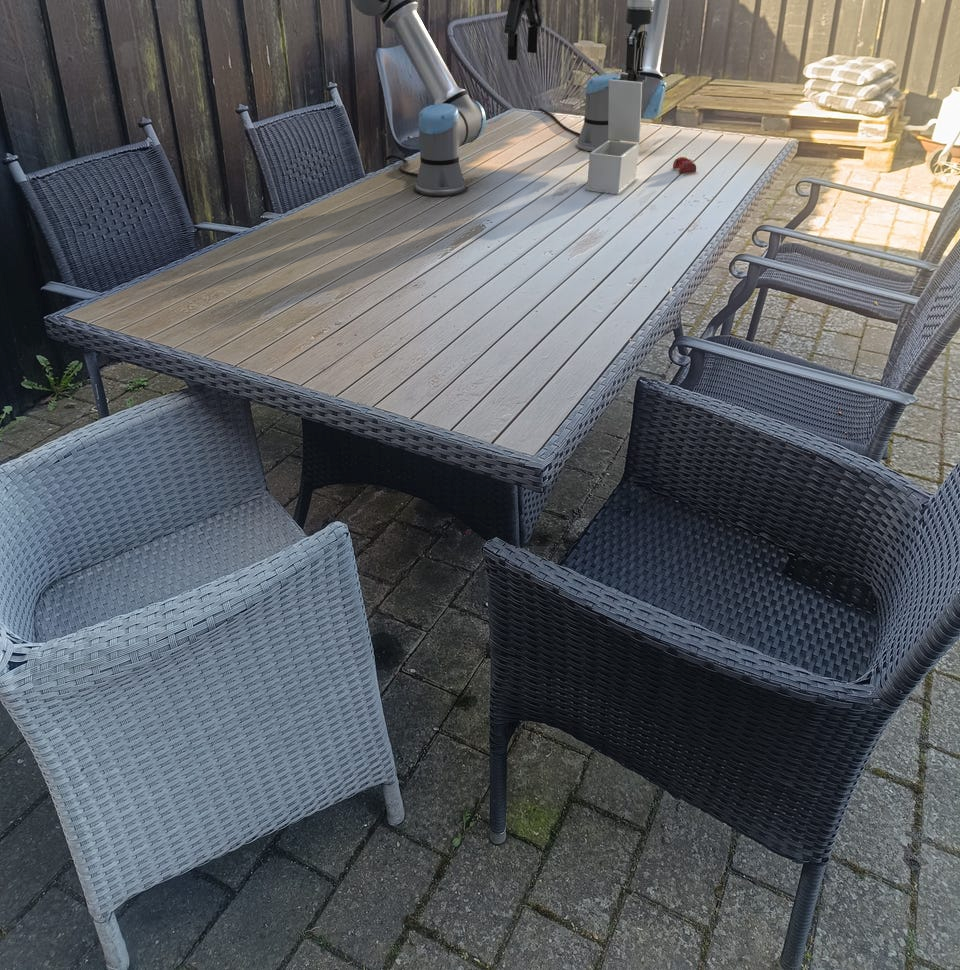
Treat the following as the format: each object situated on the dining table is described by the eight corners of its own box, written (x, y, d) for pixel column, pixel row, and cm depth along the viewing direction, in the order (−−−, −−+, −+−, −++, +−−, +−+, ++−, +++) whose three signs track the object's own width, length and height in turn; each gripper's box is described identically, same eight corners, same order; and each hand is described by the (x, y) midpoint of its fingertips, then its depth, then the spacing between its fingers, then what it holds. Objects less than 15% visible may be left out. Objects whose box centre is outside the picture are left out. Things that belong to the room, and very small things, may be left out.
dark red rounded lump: (688, 153, 276) (699, 160, 270) (686, 166, 279) (697, 173, 272) (672, 155, 275) (682, 161, 269) (670, 168, 278) (681, 175, 271)
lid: (641, 83, 247) (650, 70, 252) (608, 80, 250) (618, 68, 255) (639, 142, 260) (647, 129, 265) (608, 139, 264) (617, 126, 269)
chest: (618, 194, 255) (621, 157, 248) (586, 190, 258) (589, 153, 252) (635, 179, 267) (639, 143, 261) (605, 175, 271) (608, 140, 264)
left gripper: (519, -27, 216) (516, 64, 229) (555, -35, 234) (551, 50, 247) (492, -29, 219) (491, 61, 231) (531, -36, 237) (528, 48, 249)
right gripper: (645, 11, 237) (635, 101, 251) (660, 5, 248) (650, 92, 262) (619, 10, 240) (612, 99, 254) (635, 4, 251) (627, 90, 264)
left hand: (522, 56), depth 239 cm, fingers open, 13 cm apart
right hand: (631, 95), depth 258 cm, fingers closed on lid, 2 cm apart
